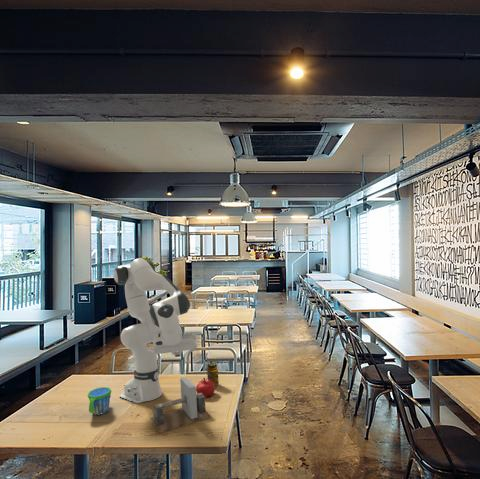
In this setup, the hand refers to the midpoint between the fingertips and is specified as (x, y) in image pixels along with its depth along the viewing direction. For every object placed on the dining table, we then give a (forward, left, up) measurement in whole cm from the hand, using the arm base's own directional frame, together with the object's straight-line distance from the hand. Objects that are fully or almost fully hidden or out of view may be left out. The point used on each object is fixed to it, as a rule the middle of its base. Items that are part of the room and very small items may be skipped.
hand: (178, 355), depth 168 cm
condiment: (0, +32, -28) cm, 42 cm away
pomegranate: (+2, +21, -28) cm, 35 cm away
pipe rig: (+2, -4, -28) cm, 28 cm away
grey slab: (+5, -1, -26) cm, 27 cm away
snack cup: (-40, -10, -28) cm, 50 cm away
